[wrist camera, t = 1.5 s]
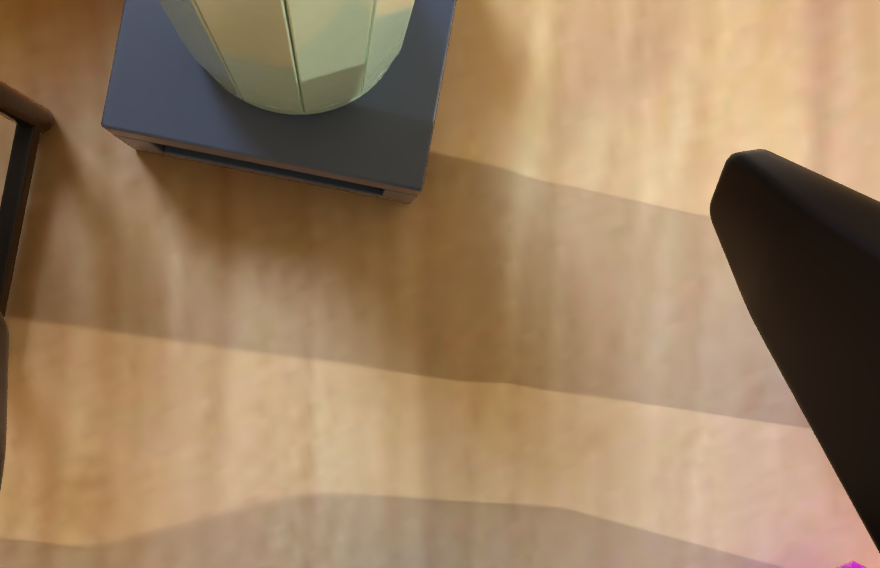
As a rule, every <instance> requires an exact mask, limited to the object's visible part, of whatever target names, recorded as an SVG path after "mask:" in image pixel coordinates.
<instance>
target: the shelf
mask: <svg viewBox="0 0 880 568" xmlns="http://www.w3.org/2000/svg"><path fill="white" fill-rule="evenodd" d="M455 5H456V0H415V2H414V6H413V9H412V13H411V16H410V20H409V23H408V27H407V31H406V34H405V38H404V41H403V45H402V48H401V49H400V52H399V54H398V55H397V56H396V57H395V58H394V60H393V61H392V63H391V65H390V67H389V68H388V70H387V71H386V72H385V74H384V75H383V76H382V78H381V79H380V80H379V81H378V82H377V83H376V84H375V85H374V86H373V87H372V88H371V89H370V90H369V91H367V92H366V93H365V94H363V95H362V96H361V97H359V98H357V99H356V100H354V101H352V102H350V103H349V104H347V105H344V106H342V107H339V108H337V109H334V110H330V111H326V112H322V113H317V114H308V115H289V114H282V113H275V112H272V111H268V110H264V109H261V108H258V107H256V106H254V105H251V104H249V103H246V102H245V101H243V100H241V99H239V98H238V97H236V96H234V95H233V94H231V93H230V92H229V91H227V90H226V89H225V88H223V87H222V86H221V85H220V84H219V83H218V82H217V81H216V80H215V79H214V78H213V77H211V76H210V74H209V73H208V72H207V71H206V69H205V68H204V67H203V66H201V65H200V64H199V63H198V62H197V61H196V60H194V58H193V56H192V55H191V54H190V52H189V51H188V49H187V47H186V46H185V44H184V43H183V41H182V39H181V38H180V36H179V34H178V33H177V31H176V30H175V28H174V26H173V25H172V23H171V22H170V20H169V18H168V17H167V15H166V13H165V12H164V10H163V9H162V7H161V5H160V4H159V2H158V1H157V0H125V3H124V8H123V13H122V19H121V24H120V29H119V34H118V39H117V45H116V50H115V55H114V60H113V65H112V70H111V76H110V81H109V86H108V91H107V96H106V101H105V107H104V112H103V117H102V122H101V125H102V127H103V128H105V129H106V130H108V131H109V132H111V133H112V134H113V135H115V136H116V137H117V138H119V139H120V140H122V141H123V142H125V143H126V144H128V145H129V146H131V147H132V148H134V149H137V150H142V151H147V152H152V153H157V154H162V155H165V154H166V155H168V156H172V157H177V158H182V159H187V160H192V161H197V162H202V163H207V164H212V165H217V166H222V167H227V168H232V169H237V170H242V171H247V172H252V173H257V174H262V175H267V176H273V177H278V178H283V179H288V180H293V181H298V182H303V183H308V184H313V185H318V186H323V187H328V188H333V189H338V190H343V191H348V192H353V193H358V194H363V195H368V196H373V197H380V196H381V197H382V198H384V199H389V200H394V201H399V202H404V203H411V202H412V201H413V199H414V198H415V197H416V196H417V195H418V194H419V193H420V192H421V190H422V189H423V184H424V178H425V172H426V167H427V161H428V156H429V150H430V145H431V139H432V133H433V128H434V122H435V117H436V111H437V105H438V100H439V94H440V89H441V83H442V77H443V72H444V66H445V61H446V55H447V50H448V44H449V38H450V33H451V27H452V22H453V16H454V10H455Z"/></svg>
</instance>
